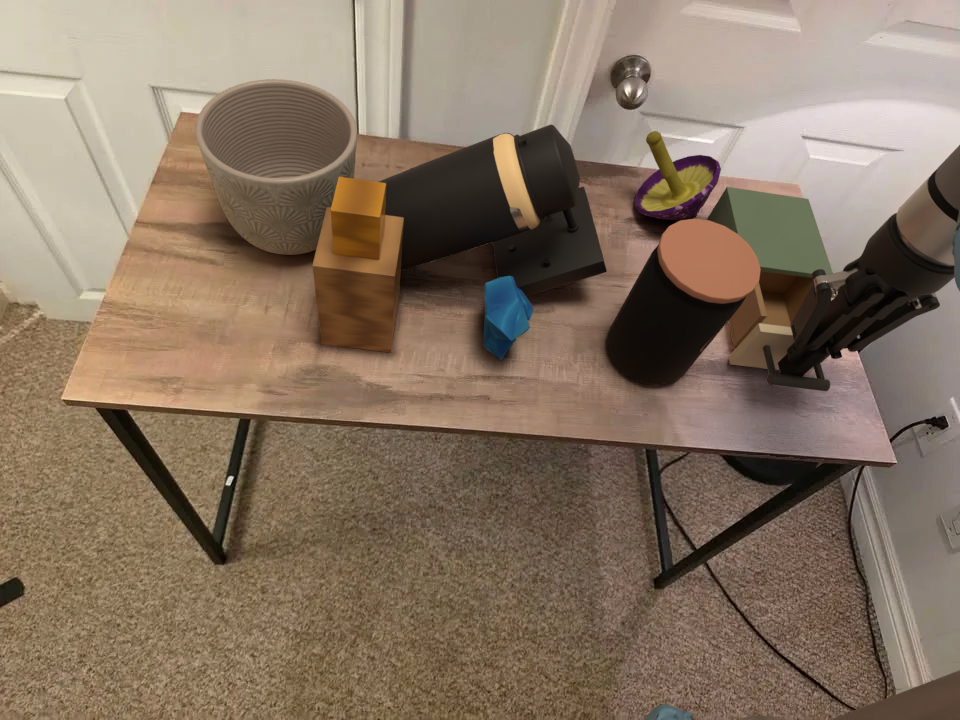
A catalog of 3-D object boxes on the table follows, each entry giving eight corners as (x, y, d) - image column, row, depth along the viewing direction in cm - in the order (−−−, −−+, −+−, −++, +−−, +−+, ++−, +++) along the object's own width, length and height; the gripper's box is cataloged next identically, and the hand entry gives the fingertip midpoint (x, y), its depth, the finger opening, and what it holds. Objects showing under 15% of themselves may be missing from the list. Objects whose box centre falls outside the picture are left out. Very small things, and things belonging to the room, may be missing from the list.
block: (385, 227, 65) (386, 182, 60) (379, 260, 63) (380, 217, 58) (341, 221, 65) (338, 176, 60) (333, 254, 62) (330, 210, 57)
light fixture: (346, 165, 76) (553, 85, 69) (411, 257, 90) (588, 197, 83) (343, 244, 69) (573, 163, 62) (413, 331, 82) (607, 272, 76)
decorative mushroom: (696, 137, 77) (736, 230, 85) (698, 89, 85) (734, 178, 93) (603, 176, 84) (648, 258, 92) (612, 128, 92) (653, 208, 100)
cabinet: (793, 319, 86) (834, 276, 78) (711, 308, 85) (745, 264, 77) (772, 244, 93) (808, 198, 85) (697, 233, 92) (726, 186, 84)
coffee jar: (687, 398, 76) (765, 309, 61) (601, 378, 76) (658, 284, 61) (686, 327, 82) (757, 231, 67) (607, 309, 82) (660, 208, 67)
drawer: (818, 410, 77) (857, 380, 71) (737, 401, 76) (769, 369, 70) (787, 295, 87) (819, 260, 81) (715, 286, 86) (741, 249, 80)
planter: (236, 172, 85) (213, 69, 72) (364, 185, 87) (363, 88, 75) (209, 269, 76) (176, 171, 63) (352, 282, 78) (348, 190, 66)
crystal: (543, 266, 76) (561, 334, 68) (512, 318, 82) (525, 386, 73) (487, 249, 74) (499, 316, 65) (458, 303, 79) (466, 372, 71)
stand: (399, 298, 78) (404, 217, 66) (391, 352, 74) (395, 276, 62) (333, 290, 77) (326, 206, 66) (321, 344, 73) (312, 265, 61)
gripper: (983, 216, 59) (828, 353, 78) (852, 196, 57) (728, 340, 77) (1016, 279, 55) (844, 406, 74) (876, 259, 53) (739, 394, 73)
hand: (785, 372), depth 76 cm, fingers closed
